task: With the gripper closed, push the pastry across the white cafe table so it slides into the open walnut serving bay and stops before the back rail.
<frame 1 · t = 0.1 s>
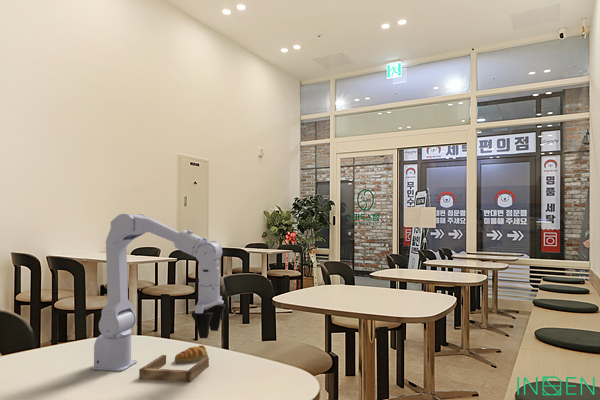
hand: (209, 334, 117), 10 cm above the table, tool pointing down, fingers open, 7 cm apart
pastry: (192, 360, 126), on the table
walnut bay: (176, 371, 116), on the table
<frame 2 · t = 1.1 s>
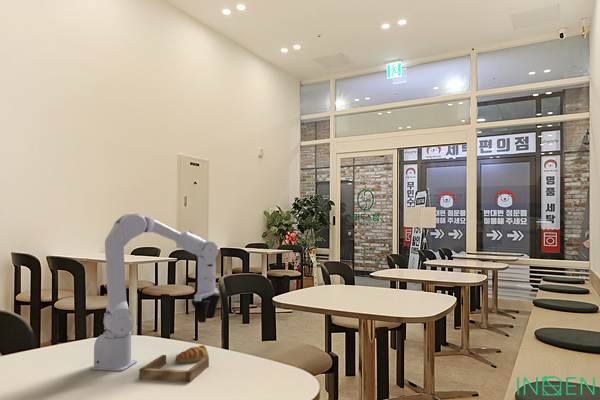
hand: (206, 319, 137), 9 cm above the table, tool pointing down, fingers open, 7 cm apart
nothing on the table moved.
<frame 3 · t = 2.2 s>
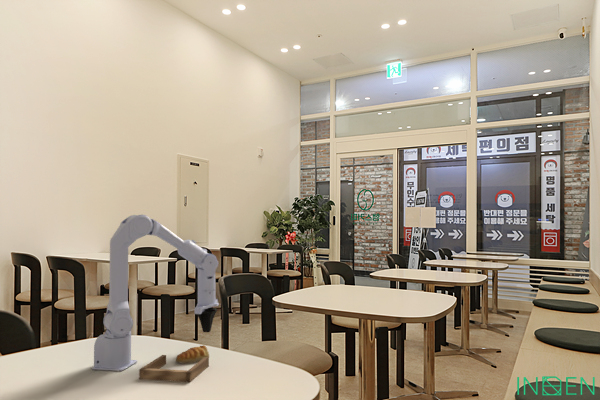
hand: (206, 331, 137), 5 cm above the table, tool pointing down, fingers closed
nothing on the table moved.
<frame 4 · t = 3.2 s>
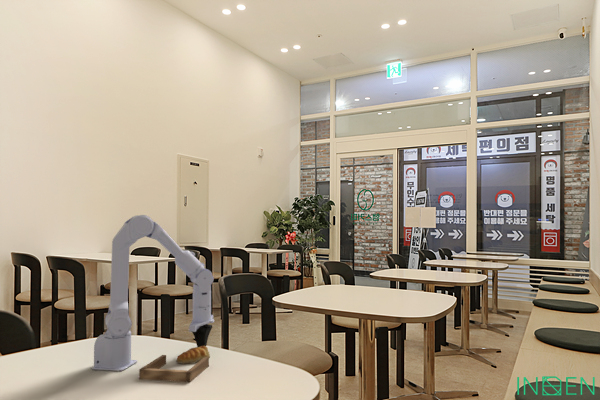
hand: (201, 349, 133), 1 cm above the table, tool pointing down, fingers closed
nothing on the table moved.
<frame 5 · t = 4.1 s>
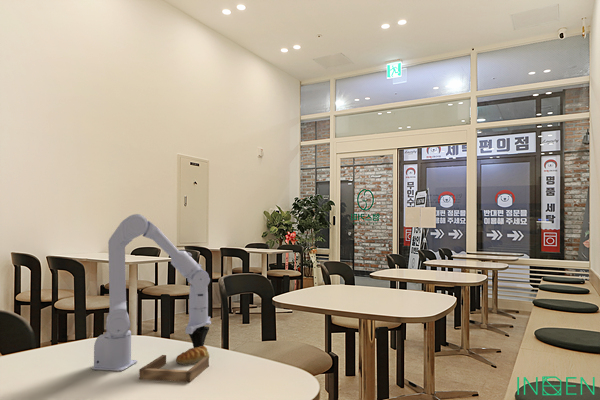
hand: (198, 351, 130), 1 cm above the table, tool pointing down, fingers closed
pastry: (194, 361, 125), on the table, touching gripper
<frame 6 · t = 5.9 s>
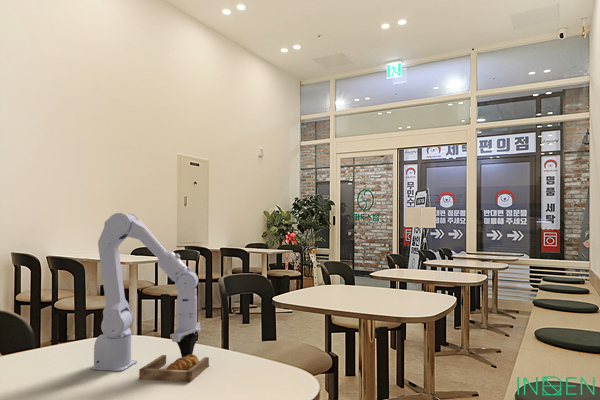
hand: (186, 360, 122), 1 cm above the table, tool pointing down, fingers closed
pastry: (184, 372, 117), on the table, touching gripper
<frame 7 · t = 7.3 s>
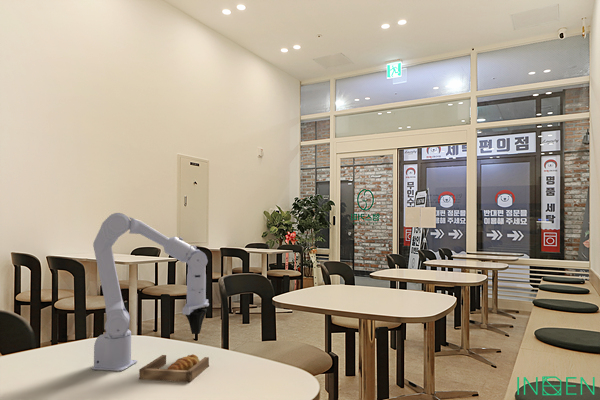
hand: (195, 333, 129), 7 cm above the table, tool pointing down, fingers closed
pastry: (184, 372, 116), on the table
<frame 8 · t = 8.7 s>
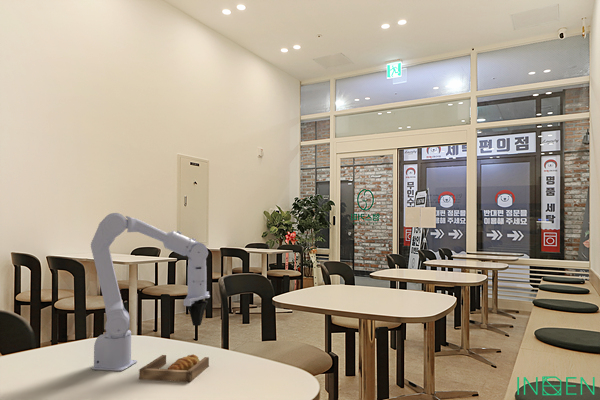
hand: (196, 325, 130), 9 cm above the table, tool pointing down, fingers closed
pastry: (184, 372, 117), on the table, touching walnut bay
at the end: pastry inside the target area (2.6 cm from its centre), on the table; pastry moved 9.6 cm from its start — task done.
